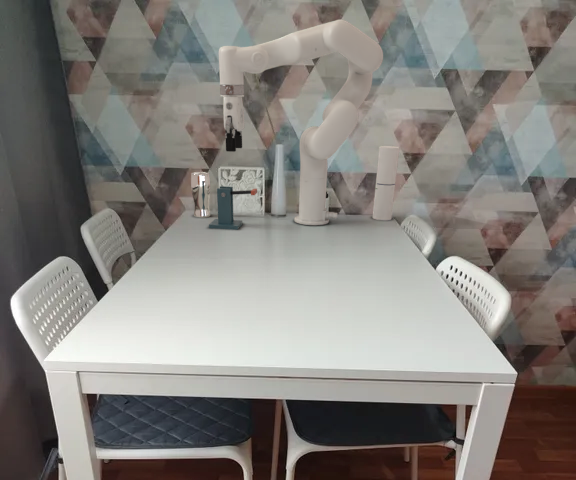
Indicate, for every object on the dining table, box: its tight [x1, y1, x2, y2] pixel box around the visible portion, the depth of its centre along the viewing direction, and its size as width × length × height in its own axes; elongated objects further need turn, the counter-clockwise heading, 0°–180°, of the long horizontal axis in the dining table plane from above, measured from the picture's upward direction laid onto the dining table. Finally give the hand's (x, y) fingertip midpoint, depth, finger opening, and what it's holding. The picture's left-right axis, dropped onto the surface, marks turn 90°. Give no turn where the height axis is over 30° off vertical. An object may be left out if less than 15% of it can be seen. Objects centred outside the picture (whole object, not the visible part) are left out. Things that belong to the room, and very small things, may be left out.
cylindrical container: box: [372, 145, 400, 221], centre depth 203 cm, size 7×7×25 cm
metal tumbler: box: [190, 171, 211, 219], centre depth 201 cm, size 7×7×15 cm
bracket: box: [208, 185, 244, 231], centre depth 188 cm, size 10×9×13 cm
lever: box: [230, 188, 258, 196], centre depth 186 cm, size 12×5×2 cm, turn 84°
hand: (234, 149), depth 183 cm, fingers open, 9 cm apart
